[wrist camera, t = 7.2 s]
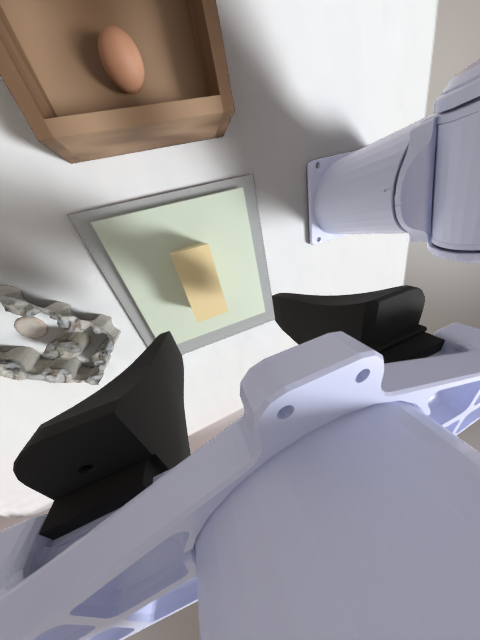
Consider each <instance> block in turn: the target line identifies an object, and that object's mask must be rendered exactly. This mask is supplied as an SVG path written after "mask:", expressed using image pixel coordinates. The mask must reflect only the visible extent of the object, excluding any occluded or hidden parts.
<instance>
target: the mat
mask: <svg viewBox="0 0 480 640" xmlns="http://www.w3.org/2000/svg"><path fill="white" fill-rule="evenodd" d="M242 187H243V190H244V196H245V201H246V207H247V213H248V218H249V224H250V229H251V235H252V240H253V246H254V251H255V257H256V262H257V268H258V273H259V279H260V285H261V290H262V296H263V301H264V307H265V312H264V313H261V314H258V315H256V316H253V317H250V318H247V319H245V320H242V321H239V322H237V323H234V324H231V325H228V326H226V327H223V328H220V329H218V330H215V331H212V332H209V333H207V334H204V335H201V336H198V337H196V338H193V339H190V340H188V341H185V342H182V343H179V344H177V346H178V348H179V350H180V352H181V355H183V354H185V353H188V352H191V351H193V350H196V349H199V348H201V347H204V346H206V345H209V344H212V343H214V342H217V341H220V340H222V339H225V338H227V337H230V336H233V335H235V334H238V333H240V332H243V331H246V330H248V329H251V328H254V327H256V326H259V325H261V324H264V323H267V322H269V321H272V320H275V315H274V308H273V301H272V294H271V288H270V281H269V275H268V268H267V262H266V256H265V249H264V243H263V236H262V230H261V223H260V217H259V211H258V204H257V198H256V191H255V185H254V178H253V174H250V175H245V176H241V177H236V178H232V179H227V180H223V181H218V182H214V183H209V184H205V185H200V186H196V187H192V188H187V189H183V190H178V191H174V192H169V193H165V194H160V195H156V196H151V197H147V198H142V199H138V200H133V201H129V202H124V203H120V204H115V205H111V206H106V207H102V208H97V209H93V210H88V211H84V212H79V213H75V214H70V215H68V217H69V219H70V220H71V222H72V224H73V225H74V227H75V229H76V230H77V232H78V233H79V235H80V237H81V238H82V240H83V242H84V243H85V245H86V247H87V248H88V250H89V251H90V253H91V255H92V256H93V258H94V260H95V261H96V263H97V265H98V266H99V268H100V269H101V271H102V273H103V274H104V276H105V278H106V279H107V281H108V283H109V284H110V286H111V287H112V289H113V291H114V292H115V294H116V296H117V297H118V299H119V301H120V302H121V304H122V305H123V307H124V309H125V310H126V312H127V314H128V315H129V317H130V319H131V320H132V322H133V323H134V325H135V327H136V328H137V330H138V332H139V333H140V335H141V337H142V338H143V340H144V341H145V343H146V345H147V346H149V345H150V344H151V343H152V342H153V341H154V339H155V336H154V334H153V332H152V331H151V329H150V327H149V325H148V324H147V322H146V320H145V318H144V316H143V315H142V313H141V311H140V309H139V308H138V306H137V304H136V302H135V301H134V299H133V297H132V295H131V293H130V292H129V290H128V288H127V286H126V285H125V283H124V281H123V279H122V277H121V276H120V274H119V272H118V270H117V269H116V267H115V265H114V263H113V261H112V260H111V258H110V256H109V254H108V253H107V251H106V249H105V247H104V246H103V244H102V242H101V240H100V238H99V237H98V235H97V233H96V231H95V230H94V228H93V226H92V224H91V222H95V221H99V220H104V219H108V218H112V217H117V216H121V215H125V214H130V213H134V212H138V211H143V210H147V209H151V208H156V207H160V206H164V205H169V204H173V203H177V202H181V201H186V200H190V199H194V198H199V197H203V196H207V195H212V194H216V193H220V192H225V191H229V190H233V189H238V188H242Z"/></svg>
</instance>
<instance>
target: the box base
mask: <svg viewBox="0 0 480 640" xmlns="http://www.w3.org/2000/svg"><path fill="white" fill-rule="evenodd" d="M0 75H1V77H2V78H3V80H4V82H5V84H6V85H7V87H8V89H9V90H10V92H11V94H12V96H13V97H14V99H15V101H16V103H17V104H18V106H19V108H20V109H21V111H22V113H23V115H24V116H25V118H26V120H27V122H28V123H29V125H30V127H31V129H32V130H33V132H34V134H35V135H36V137H37V139H38V141H40V142H41V143H42V144H44V145H45V146H47V147H48V148H50V149H51V150H53V151H54V152H55V153H57V154H58V155H60V156H61V157H63V158H64V159H65V160H67V161H68V162H70V163H71V164H73V163H78V162H84V161H90V160H95V159H101V158H106V157H112V156H118V155H123V154H129V153H134V152H140V151H145V150H151V149H157V148H162V147H168V146H173V145H179V144H185V143H190V142H196V141H201V140H207V139H212V138H218V137H223V136H224V133H225V131H226V129H227V127H228V124H229V122H230V120H231V118H232V115H233V113H234V111H235V110H234V104H233V98H232V92H231V86H230V81H229V75H228V69H227V63H226V57H225V51H224V46H223V40H222V34H221V28H220V22H219V16H218V11H217V5H216V0H0Z"/></svg>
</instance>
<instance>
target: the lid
mask: <svg viewBox="0 0 480 640" xmlns="http://www.w3.org/2000/svg"><path fill="white" fill-rule="evenodd" d="M91 224H92V226H93V228H94V230H95V231H96V233H97V235H98V237H99V238H100V240H101V242H102V244H103V246H104V247H105V249H106V251H107V253H108V254H109V256H110V258H111V260H112V261H113V263H114V265H115V267H116V269H117V270H118V272H119V274H120V276H121V277H122V279H123V281H124V283H125V285H126V286H127V288H128V290H129V292H130V293H131V295H132V297H133V299H134V301H135V302H136V304H137V306H138V308H139V309H140V311H141V313H142V315H143V316H144V318H145V320H146V322H147V324H148V325H149V327H150V329H151V331H152V332H153V334H154V336H155V338H156V337H157V336H158V335H159V334H161V333H164V332H167V331H170V332H171V334H172V336H173V338H174V340H175V342H176V344H179V343H182V342H185V341H188V340H190V339H193V338H196V337H198V336H201V335H204V334H207V333H209V332H212V331H215V330H218V329H220V328H223V327H226V326H228V325H231V324H234V323H237V322H239V321H242V320H245V319H247V318H250V317H253V316H256V315H258V314H261V313H264V312H265V307H264V301H263V296H262V290H261V285H260V279H259V273H258V268H257V262H256V257H255V251H254V246H253V240H252V235H251V229H250V224H249V218H248V213H247V207H246V201H245V196H244V190H243V187H242V188H238V189H233V190H229V191H225V192H220V193H216V194H212V195H207V196H203V197H199V198H194V199H190V200H186V201H181V202H177V203H173V204H169V205H164V206H160V207H156V208H151V209H147V210H143V211H138V212H134V213H130V214H125V215H121V216H117V217H112V218H108V219H104V220H99V221H95V222H91Z"/></svg>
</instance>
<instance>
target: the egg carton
mask: <svg viewBox="0 0 480 640" xmlns="http://www.w3.org/2000/svg"><path fill="white" fill-rule="evenodd" d="M0 302H1V303H2V305H3V306H4V308H5V311H9V312H11V313H13V314H16V315H20V316H23V317H22V318H19V319H17V320H16V322H15V328H16V330H17V331H18V332H19V333H20V334H21V335H23V336H26V337H28V338H40V337H43V336H45V335H46V334H47V332H48V327H47V325H46V324H45V323H44V322H43V321H41V320H40V319H38V318H35V317H33V316H34V315H36V314H38V313H39V312H41V311H42V312H43V313H44V314H48V315H50V313H54V315H50V318H52V319H56V320H58V322H57V324H58V326H59V327H61V328H67V330H66V331H64V332H63V333H61V334H60V335H59V336H58V337H56V338H55V339H54V340H53V341H51V342H50V343H49V344H48V345H47V346H46V349H45V351H44V353H43V357H46V358H48V359H41V355H40V354H39V352H38V351H36V350H35V349H33V348H30V347H24V346H19V347H15V348H13V349H11V350H9V351H8V352H3V351H0V376H3V377H7V378H12V379H14V380H23V379H31V380H43V381H46V382H50V383H71V382H77V383H81V382H85V383H86V382H87V383H89V384H91V385H97V384H98V383H99V382H100V380H101V379H102V377H103V371H104V369H105V367H106V365H107V364H108V363H109V360H110V358H111V355H110V353H111V352H112V350H113V348H114V344H115V342H116V340H117V339H118V337H119V335H120V332H121V331H120V330H118V329H116V328H115V327H114V326H113V324H112V320H111V319H112V318H111V317H109V316H106V315H102V314H101V315H99V316H98V317H97V318H96V319H94V320H90V321H87V320H82V319H80V318H78V317H76V316H75V315H74V314H73V312H72V310H71V305H69V304H66V303H63V302H60V301H56V302H55V303H53V304H51V305H49V306H47V307H45V308H42V307H39V306H36V305H33V304H31V303H29V302H27V301H26V300H25V299H24V298H23V296H22V292H21V290H20V289H17V288H14V287H11V286H7V285H4V286H1V287H0ZM89 327H91V331H94V333H95V334H100V333H105V334H106V336H107V337H108V339H107V340H105V341H104V342H103V343H102V344H101V346H100V347H99V348H98V350H97V351H96V352H95V353H94V355H93V356H92V358H91V361H92V362H95V363H94V365H95V367H94V368H88V367H84V366H82V363H81V361H80V360H79V359H78V358H77V356H79V355H80V354H81V353H82V352H83V350H84V349H85V348H86V347H88V345H89V343H90V336H89V334H88V333H87V332H86V331H84V330H85V329H86V328H89ZM51 359H55V360H51Z"/></svg>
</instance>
